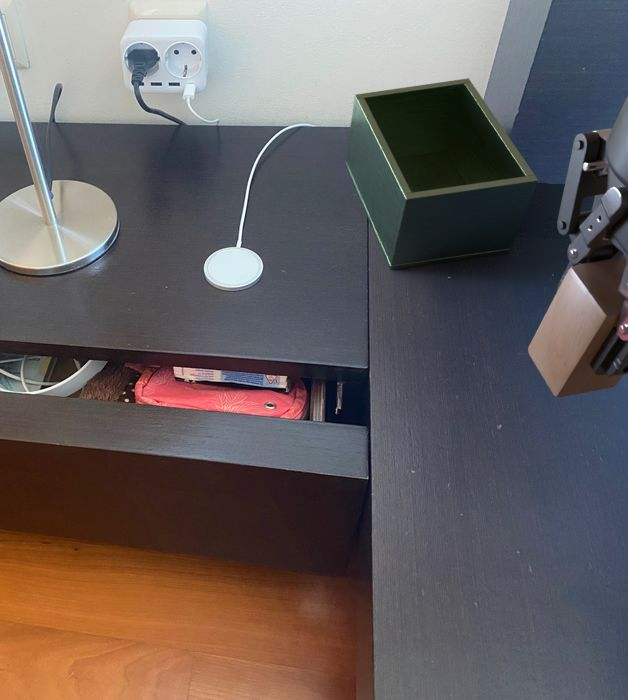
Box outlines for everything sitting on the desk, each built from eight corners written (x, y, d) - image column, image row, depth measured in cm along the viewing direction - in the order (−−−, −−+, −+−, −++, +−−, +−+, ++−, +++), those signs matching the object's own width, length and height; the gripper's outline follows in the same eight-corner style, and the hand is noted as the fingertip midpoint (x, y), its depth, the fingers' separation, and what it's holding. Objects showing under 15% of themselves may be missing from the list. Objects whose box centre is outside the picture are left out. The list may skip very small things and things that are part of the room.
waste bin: (508, 252, 75) (538, 180, 68) (389, 270, 75) (406, 199, 68) (449, 150, 86) (468, 77, 79) (345, 165, 86) (354, 94, 79)
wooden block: (554, 401, 44) (606, 316, 38) (523, 350, 47) (568, 263, 40) (617, 389, 44) (679, 303, 38) (583, 339, 47) (637, 251, 40)
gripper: (981, 172, 25) (721, 429, 38) (734, -19, 34) (593, 245, 47) (768, 203, 25) (582, 449, 38) (575, 4, 34) (480, 261, 47)
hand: (589, 336), depth 43 cm, fingers closed on wooden block, 4 cm apart
